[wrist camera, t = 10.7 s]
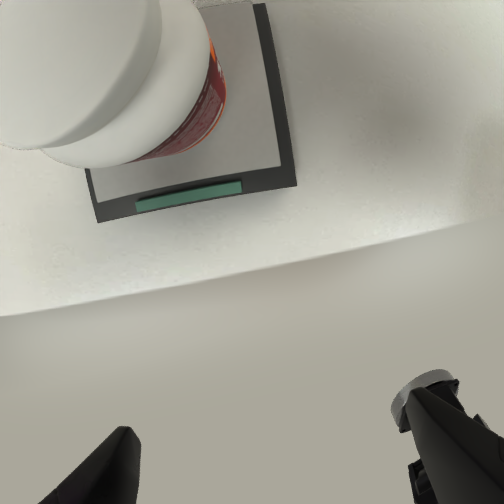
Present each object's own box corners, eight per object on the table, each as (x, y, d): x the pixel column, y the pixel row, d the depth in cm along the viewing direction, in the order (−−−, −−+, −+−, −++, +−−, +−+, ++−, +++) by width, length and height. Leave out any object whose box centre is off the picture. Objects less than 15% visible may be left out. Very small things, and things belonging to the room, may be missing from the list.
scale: (292, 181, 19) (299, 188, 16) (110, 215, 19) (91, 227, 16) (263, 15, 15) (265, -3, 12) (83, 61, 15) (62, 53, 13)
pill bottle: (252, 81, 14) (265, -26, 4) (182, 177, 16) (74, 249, 5) (158, 26, 13) (55, -84, 2) (94, 119, 14) (-68, 121, 4)
